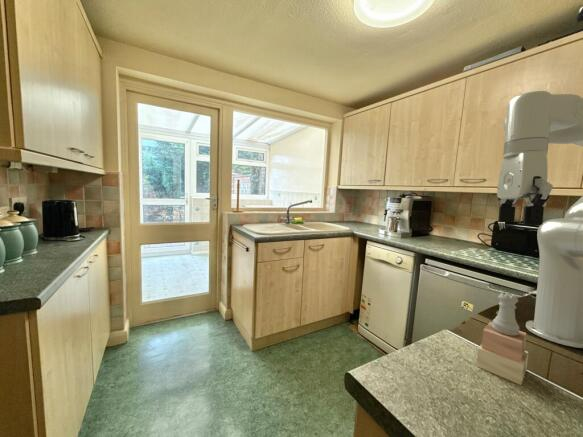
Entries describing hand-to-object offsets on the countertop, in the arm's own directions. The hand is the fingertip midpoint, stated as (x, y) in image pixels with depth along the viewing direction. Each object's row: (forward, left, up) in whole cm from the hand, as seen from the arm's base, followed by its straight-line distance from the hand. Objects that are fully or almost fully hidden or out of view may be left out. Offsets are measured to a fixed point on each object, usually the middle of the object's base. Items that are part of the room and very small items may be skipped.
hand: (518, 223), depth 58 cm
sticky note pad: (+6, +10, -30) cm, 32 cm away
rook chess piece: (+6, +10, -22) cm, 25 cm away
